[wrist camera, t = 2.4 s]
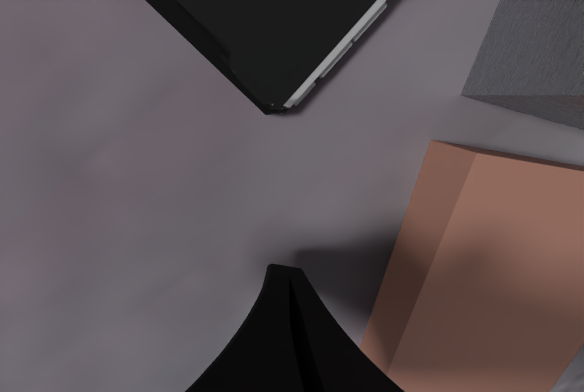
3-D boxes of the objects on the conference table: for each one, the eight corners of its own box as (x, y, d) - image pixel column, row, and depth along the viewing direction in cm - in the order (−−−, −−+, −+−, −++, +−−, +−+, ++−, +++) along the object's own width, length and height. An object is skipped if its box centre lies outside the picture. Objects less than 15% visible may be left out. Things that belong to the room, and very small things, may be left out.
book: (469, 387, 16) (509, 447, 14) (343, 379, 16) (359, 442, 13) (594, 167, 12) (693, 190, 9) (424, 138, 11) (477, 152, 8)
